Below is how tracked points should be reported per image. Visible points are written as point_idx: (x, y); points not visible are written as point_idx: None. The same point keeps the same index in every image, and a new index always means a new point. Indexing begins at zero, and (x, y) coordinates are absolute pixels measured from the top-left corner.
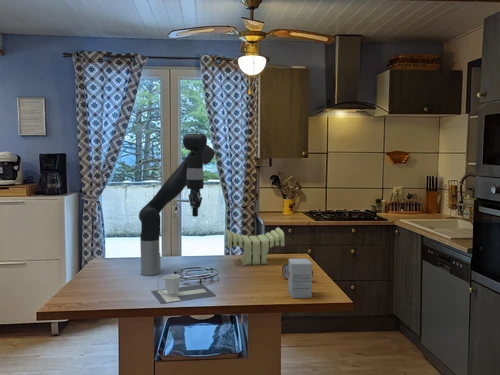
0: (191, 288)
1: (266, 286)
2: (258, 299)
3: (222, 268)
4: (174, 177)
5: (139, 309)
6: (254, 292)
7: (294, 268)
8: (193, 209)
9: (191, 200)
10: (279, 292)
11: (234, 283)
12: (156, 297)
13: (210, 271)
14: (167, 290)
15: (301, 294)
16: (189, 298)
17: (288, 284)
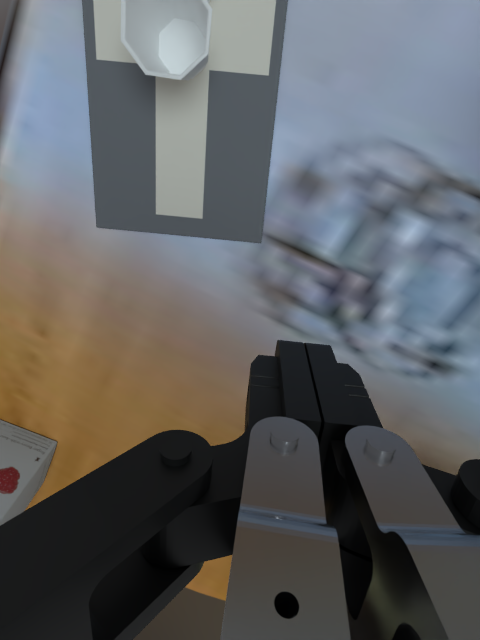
0: (228, 173)
1: (132, 418)
2: (15, 335)
3: (414, 401)
4: None
5: None
6: (88, 359)
7: None
8: (282, 408)
9: (428, 615)
10: (60, 419)
11: (211, 351)
12: None
13: (408, 347)
14: (169, 8)
15: None
16: (104, 107)
17: (37, 456)
